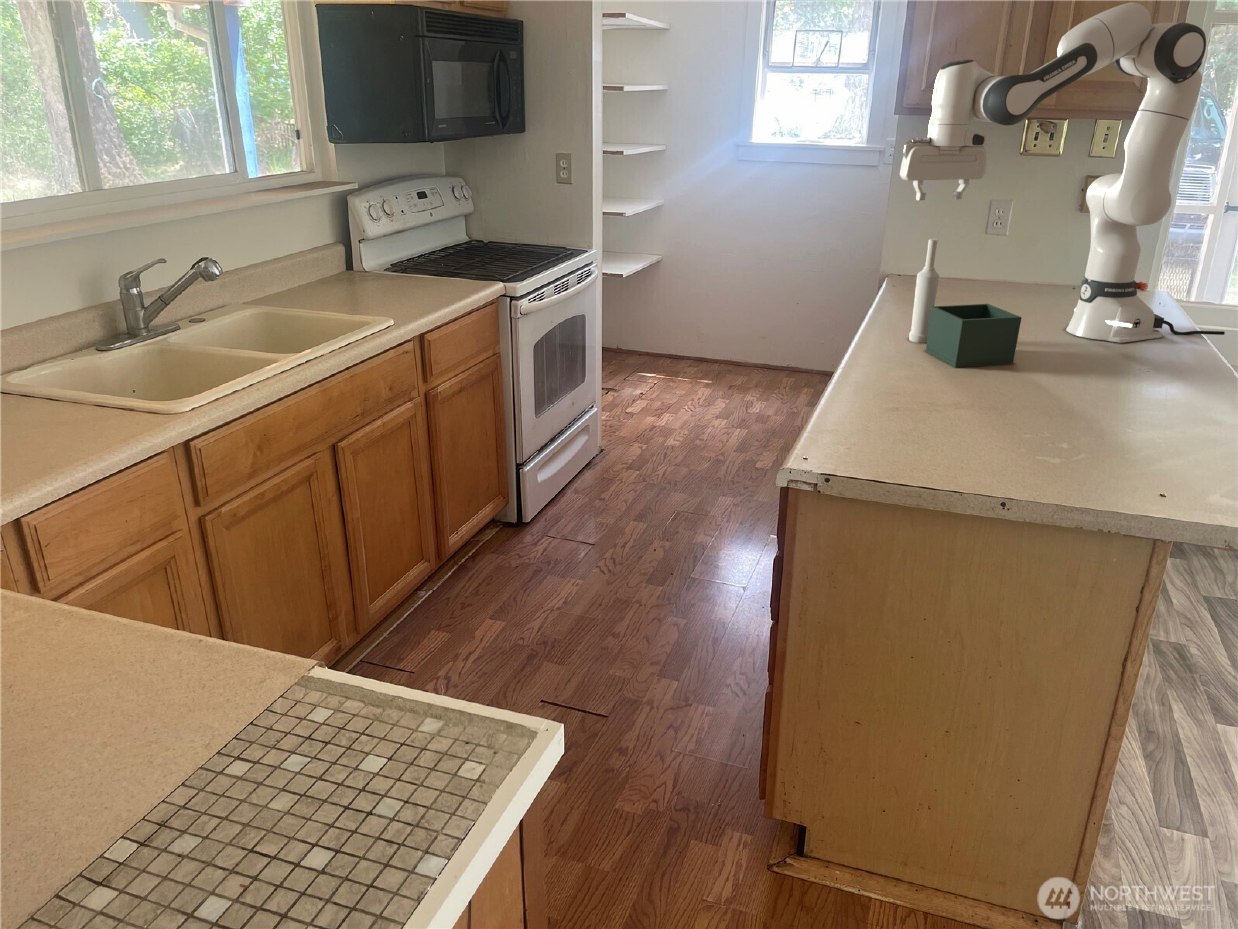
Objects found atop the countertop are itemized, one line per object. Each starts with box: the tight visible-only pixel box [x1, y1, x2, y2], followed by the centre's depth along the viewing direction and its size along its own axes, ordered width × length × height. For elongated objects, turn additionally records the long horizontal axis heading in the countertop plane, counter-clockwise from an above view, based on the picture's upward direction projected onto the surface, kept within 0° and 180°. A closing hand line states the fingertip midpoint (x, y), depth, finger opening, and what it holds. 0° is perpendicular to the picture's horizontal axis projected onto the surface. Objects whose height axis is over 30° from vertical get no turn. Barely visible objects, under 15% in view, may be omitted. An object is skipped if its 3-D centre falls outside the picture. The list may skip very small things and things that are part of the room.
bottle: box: [908, 238, 940, 344], centre depth 214 cm, size 5×5×25 cm
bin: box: [925, 303, 1022, 369], centre depth 203 cm, size 15×14×11 cm
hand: (938, 199), depth 206 cm, fingers open, 8 cm apart
